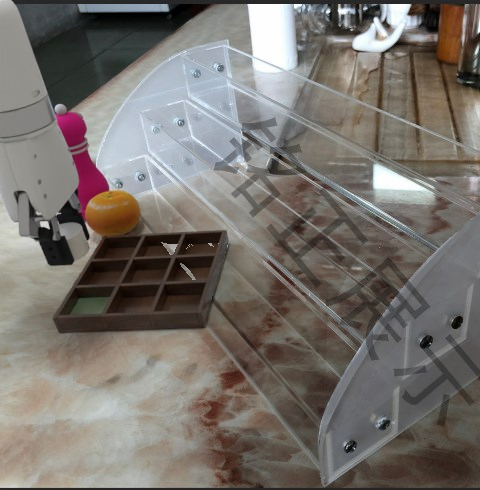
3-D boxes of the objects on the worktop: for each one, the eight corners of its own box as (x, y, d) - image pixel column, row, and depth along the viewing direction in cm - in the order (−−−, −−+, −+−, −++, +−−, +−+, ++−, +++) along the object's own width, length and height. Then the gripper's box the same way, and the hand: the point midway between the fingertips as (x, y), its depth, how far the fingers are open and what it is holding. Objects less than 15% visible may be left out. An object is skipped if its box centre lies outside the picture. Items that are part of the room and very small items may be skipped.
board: (58, 332, 79) (52, 318, 78) (108, 249, 96) (103, 235, 94) (204, 327, 78) (200, 312, 76) (229, 243, 94) (226, 229, 93)
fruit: (149, 194, 103) (114, 170, 97) (150, 233, 98) (113, 210, 92) (113, 215, 105) (76, 193, 99) (112, 254, 100) (74, 233, 94)
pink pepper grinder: (99, 224, 102) (62, 113, 91) (65, 219, 105) (25, 111, 94) (123, 203, 108) (91, 97, 97) (90, 199, 110) (55, 95, 99)
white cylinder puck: (46, 264, 74) (37, 243, 73) (61, 243, 78) (52, 223, 76) (81, 262, 74) (73, 241, 72) (94, 242, 78) (87, 221, 76)
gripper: (20, 92, 73) (67, 219, 83) (-58, 151, 59) (11, 294, 69) (79, 88, 73) (119, 216, 83) (15, 146, 59) (73, 292, 69)
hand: (70, 250), depth 76 cm, fingers closed on white cylinder puck, 4 cm apart
